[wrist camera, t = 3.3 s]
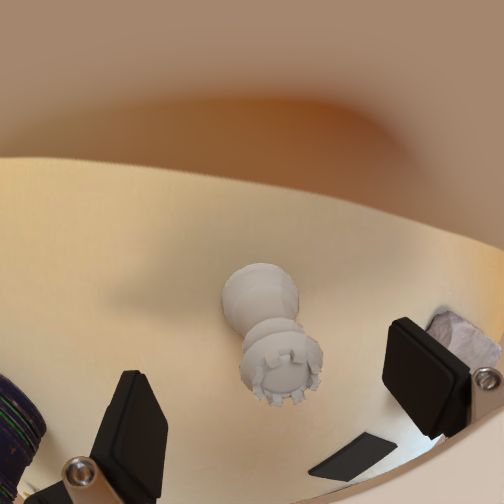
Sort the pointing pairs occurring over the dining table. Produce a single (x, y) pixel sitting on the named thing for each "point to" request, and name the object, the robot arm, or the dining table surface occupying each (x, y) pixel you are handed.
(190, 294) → the dining table surface
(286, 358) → the rook chess piece
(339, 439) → the dining table surface
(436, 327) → the stone block
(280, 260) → the dining table surface
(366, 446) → the mat
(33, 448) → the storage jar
